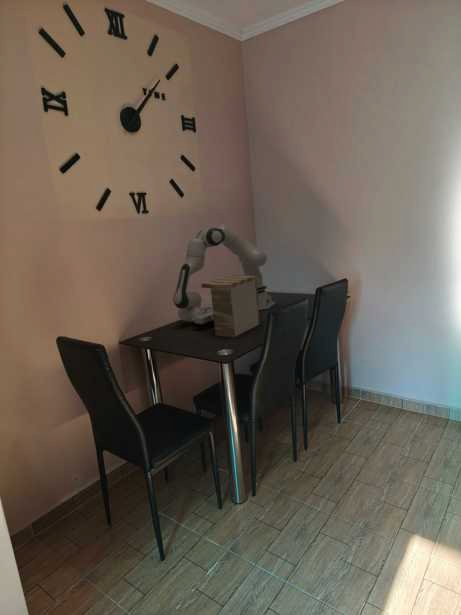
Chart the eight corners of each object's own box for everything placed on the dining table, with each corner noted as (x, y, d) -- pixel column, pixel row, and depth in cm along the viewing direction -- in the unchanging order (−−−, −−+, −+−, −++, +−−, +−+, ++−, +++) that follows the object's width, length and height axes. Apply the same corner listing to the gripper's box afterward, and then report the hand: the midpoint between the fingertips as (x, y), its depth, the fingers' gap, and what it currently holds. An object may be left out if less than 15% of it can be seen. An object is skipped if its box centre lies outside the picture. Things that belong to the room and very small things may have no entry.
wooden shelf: (234, 321, 243) (230, 275, 237) (260, 323, 232) (256, 275, 226) (207, 334, 223) (201, 284, 216) (233, 337, 212) (228, 285, 206)
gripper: (188, 314, 231) (207, 316, 223) (211, 306, 247) (229, 307, 239) (190, 325, 233) (208, 327, 225) (212, 316, 249) (230, 318, 240)
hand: (219, 317), depth 232 cm, fingers closed
